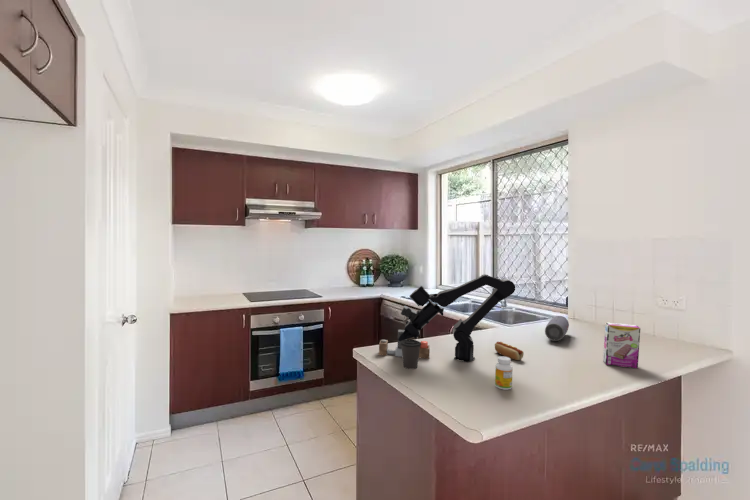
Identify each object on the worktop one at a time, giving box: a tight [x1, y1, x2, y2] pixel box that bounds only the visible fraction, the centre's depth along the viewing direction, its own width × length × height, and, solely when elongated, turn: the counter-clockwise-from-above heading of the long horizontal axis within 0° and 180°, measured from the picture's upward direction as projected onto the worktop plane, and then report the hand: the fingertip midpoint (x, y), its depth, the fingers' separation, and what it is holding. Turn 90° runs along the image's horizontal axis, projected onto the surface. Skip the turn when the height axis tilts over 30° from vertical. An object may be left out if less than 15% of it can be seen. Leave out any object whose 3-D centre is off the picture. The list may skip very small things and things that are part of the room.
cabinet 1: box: [378, 339, 389, 357], centre depth 155 cm, size 3×5×6 cm, turn 171°
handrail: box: [387, 349, 395, 356], centre depth 154 cm, size 13×2×2 cm, turn 81°
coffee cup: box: [400, 338, 421, 370], centre depth 140 cm, size 8×8×10 cm
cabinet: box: [418, 344, 431, 359], centre depth 153 cm, size 5×5×4 cm
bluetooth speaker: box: [544, 315, 570, 342], centre depth 185 cm, size 23×9×10 cm, turn 147°
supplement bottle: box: [494, 355, 513, 391], centre depth 123 cm, size 5×5×10 cm
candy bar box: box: [602, 321, 641, 369], centre depth 146 cm, size 11×5×16 cm, turn 71°
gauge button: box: [420, 340, 429, 349], centre depth 153 cm, size 3×3×4 cm
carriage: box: [394, 329, 408, 358], centre depth 154 cm, size 5×6×10 cm
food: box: [494, 341, 524, 361], centre depth 155 cm, size 14×6×5 cm, turn 24°
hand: (398, 339), depth 154 cm, fingers closed on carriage, 3 cm apart
